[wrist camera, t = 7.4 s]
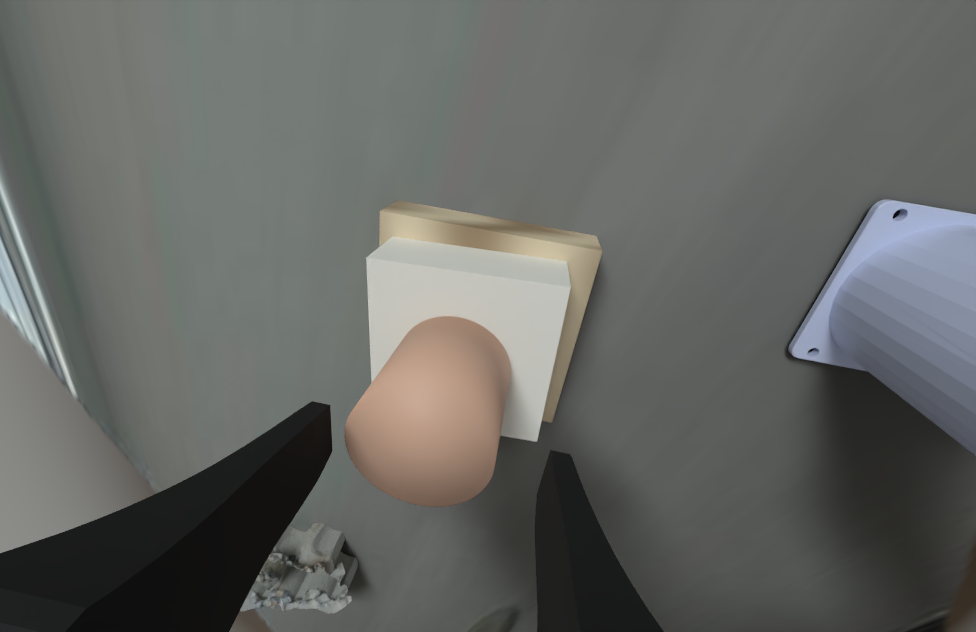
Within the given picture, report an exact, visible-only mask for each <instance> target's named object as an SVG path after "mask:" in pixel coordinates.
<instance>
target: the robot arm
mask: <svg viewBox="0 0 976 632" xmlns="http://www.w3.org/2000/svg"><path fill="white" fill-rule="evenodd" d="M899 209H900V214H899V215H898V216H897V217H896V218H894V219H893V215H894V213H895V212H896V211H897V210H899ZM812 348H814V350H813V351H812V352H809V353H808V351H809V350H810V349H812ZM788 349H789V352H790V353H791V354H792V355H793V356H794V357H796V358H799V359H804V360H810V361H815V362H820V363H825V364H831V365H836V366H841V367H846V368H852V369H857V370H862V371H868V372H869V373H870V374H872V375H873V376H874V377H876V378H877V379H878V380H879V381H881V382H882V383H883V384H884V385H886V386H887V387H888V388H890V389H891V390H892V391H893V392H895V393H896V394H897V395H899V396H900V397H901V398H902V399H904V400H905V401H906V402H907V403H909V404H910V405H911V406H913V407H914V408H915V409H916V410H918V411H919V412H920V413H922V414H923V415H924V416H925V417H927V418H928V419H929V420H930V421H932V422H933V423H934V424H936V425H937V426H938V427H939V428H941V429H942V430H943V431H944V432H946V433H947V434H948V435H950V436H951V437H952V438H953V439H955V440H956V441H957V442H959V443H960V444H961V445H962V446H964V447H965V448H966V449H967V450H969V451H970V452H971V453H973V454H974V455H975V456H976V214H971V213H965V212H959V211H953V210H947V209H941V208H936V207H930V206H924V205H918V204H912V203H906V202H900V201H895V200H882V201H879V202H877V203H876V204H874V205H873V206H872V208H871V209H870V210H869V212H868V214H867V215H866V217H865V219H864V220H863V222H862V224H861V225H860V227H859V229H858V230H857V232H856V234H855V236H854V237H853V239H852V241H851V242H850V244H849V246H848V247H847V249H846V251H845V252H844V254H843V256H842V257H841V259H840V261H839V262H838V264H837V266H836V268H835V269H834V271H833V273H832V274H831V276H830V278H829V279H828V281H827V283H826V284H825V286H824V288H823V289H822V291H821V293H820V294H819V296H818V298H817V300H816V301H815V303H814V305H813V306H812V308H811V310H810V311H809V313H808V315H807V316H806V318H805V320H804V321H803V323H802V325H801V327H800V328H799V330H798V332H797V333H796V335H795V337H794V338H793V340H792V342H791V343H790V345H789V348H788ZM331 452H332V435H331V414H330V405H327V404H322V403H317V402H313V401H312V402H310V403H309V404H307V405H306V406H304V407H303V408H301V409H300V410H298V411H297V412H295V413H294V414H292V415H291V416H289V417H288V418H286V419H285V420H284V421H282V422H281V423H279V424H278V425H276V426H275V427H273V428H272V429H270V430H269V431H267V432H266V433H264V434H262V435H261V436H259V437H258V438H256V439H255V440H253V441H252V442H250V443H249V444H247V445H245V446H244V447H242V448H241V449H239V450H237V451H236V452H234V453H232V454H231V455H229V456H227V457H226V458H224V459H222V460H221V461H219V462H217V463H216V464H214V465H212V466H210V467H209V468H207V469H205V470H203V471H201V472H199V473H198V474H196V475H194V476H192V477H190V478H188V479H186V480H184V481H182V482H180V483H178V484H176V485H174V486H172V487H170V488H168V489H166V490H164V491H161V492H159V493H157V494H155V495H153V496H150V497H149V498H146V499H144V500H142V501H139V502H137V503H135V504H133V505H131V506H128V507H126V508H124V509H121V510H119V511H116V512H114V513H112V514H109V515H107V516H104V517H102V518H99V519H97V520H94V521H91V522H89V523H87V524H84V525H81V526H78V527H76V528H74V529H70V530H68V531H65V532H62V533H59V534H57V535H54V536H51V537H48V538H45V539H42V540H39V541H36V542H33V543H30V544H27V545H24V546H21V547H18V548H15V549H13V550H9V551H6V552H3V553H0V632H229V631H230V629H231V627H232V625H233V623H234V621H235V619H236V617H237V615H238V613H239V611H240V609H241V607H242V605H243V603H244V601H245V599H246V597H247V595H248V594H249V592H250V590H251V588H252V586H253V584H254V582H255V581H256V579H257V577H258V575H259V573H260V571H261V569H262V567H263V566H264V564H265V562H266V560H267V559H268V557H269V555H270V554H271V552H272V550H273V549H274V547H275V545H276V544H277V542H278V541H279V539H280V538H281V536H282V535H283V533H284V532H285V530H286V529H287V527H288V526H289V524H290V523H291V521H292V519H293V518H294V516H295V515H296V513H297V512H298V510H299V509H300V507H301V506H302V504H303V503H304V501H305V500H306V498H307V496H308V495H309V493H310V492H311V490H312V489H313V487H314V486H315V484H316V482H317V481H318V479H319V477H320V475H321V473H322V471H323V469H324V467H325V465H326V463H327V461H328V459H329V457H330V455H331ZM535 549H536V576H537V603H538V626H537V632H663V630H662V629H661V627H660V626H659V624H658V623H657V622H656V620H655V619H654V617H653V616H652V615H651V613H650V612H649V610H648V609H647V607H646V606H645V604H644V603H643V601H642V599H641V598H640V596H639V595H638V593H637V592H636V590H635V588H634V587H633V585H632V584H631V582H630V580H629V579H628V577H627V575H626V574H625V572H624V570H623V568H622V567H621V565H620V563H619V561H618V560H617V558H616V556H615V554H614V552H613V550H612V549H611V547H610V545H609V543H608V541H607V539H606V537H605V535H604V533H603V531H602V529H601V527H600V525H599V523H598V521H597V518H596V516H595V514H594V512H593V510H592V507H591V505H590V503H589V501H588V498H587V496H586V494H585V491H584V489H583V486H582V484H581V481H580V479H579V476H578V473H577V471H576V468H575V465H574V462H573V459H572V457H571V456H570V454H566V453H561V452H556V451H551V450H550V453H549V457H548V460H547V463H546V467H545V470H544V473H543V476H542V480H541V483H540V486H539V489H538V493H537V502H536V516H535Z"/></svg>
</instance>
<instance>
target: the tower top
mask: <svg viewBox="0 0 976 632" xmlns="http://www.w3.org/2000/svg"><path fill="white" fill-rule="evenodd" d="M366 261H367V284H368V308H369V331H370V355H371V379H372V382H373V380H374V379H375V378H376V376H377V375H378V373H379V372H380V371H381V369H382V368H383V366H384V365H385V364H386V362H387V361H388V359H389V358H390V357H391V355H392V354H393V352H394V351H395V350H396V348H397V347H398V345H399V344H400V343H401V341H402V340H403V338H404V337H405V336H406V334H407V333H408V332H409V331H410V330H411V329H412V328H413V327H414V326H416V325H417V324H419V323H420V322H422V321H425V320H427V319H430V318H434V317H440V316H454V317H460V318H465V319H468V320H471V321H473V322H475V323H477V324H479V325H481V326H483V327H484V328H486V329H487V330H489V331H490V332H491V333H492V334H493V335H494V336H495V337H496V338H497V339H498V340H499V341H500V343H501V344H502V345H503V347H504V349H505V351H506V353H507V355H508V358H509V362H510V368H511V375H510V382H509V388H508V394H507V399H506V405H505V411H504V417H503V422H502V428H501V434H500V436H505V437H511V438H517V439H523V440H529V441H534V442H537V439H538V435H539V430H540V426H541V421H542V416H543V412H544V407H545V403H546V398H547V394H548V389H549V385H550V380H551V376H552V371H553V366H554V362H555V357H556V353H557V348H558V344H559V339H560V335H561V330H562V325H563V321H564V316H565V312H566V307H567V303H568V298H569V294H570V289H571V285H570V278H569V271H568V265H567V261H563V260H555V259H548V258H541V257H534V256H527V255H520V254H513V253H506V252H499V251H492V250H485V249H478V248H470V247H463V246H456V245H449V244H442V243H435V242H428V241H421V240H414V239H407V238H400V237H391V238H390V239H389V240H388V241H386V242H385V243H384V244H383V245H381V246H380V247H379V248H378V249H376V250H375V251H374V252H373V253H371V254H370V255H369V256H368V257H366Z"/></svg>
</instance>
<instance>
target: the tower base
mask: <svg viewBox="0 0 976 632" xmlns="http://www.w3.org/2000/svg"><path fill="white" fill-rule="evenodd" d="M391 237H400V238H407V239H414V240H421V241H428V242H435V243H442V244H449V245H456V246H463V247H470V248H478V249H485V250H492V251H499V252H506V253H513V254H520V255H527V256H534V257H541V258H548V259H555V260H563V261H567V265H568V271H569V278H570V285H571V289H570V294H569V298H568V303H567V307H566V312H565V316H564V321H563V325H562V330H561V335H560V339H559V344H558V348H557V353H556V357H555V362H554V366H553V371H552V376H551V380H550V385H549V389H548V394H547V398H546V403H545V407H544V412H543V416H542V421H545V422H550V423H552V421H553V418H554V414H555V411H556V407H557V404H558V401H559V397H560V394H561V390H562V387H563V384H564V380H565V377H566V373H567V370H568V367H569V363H570V360H571V357H572V353H573V350H574V346H575V343H576V340H577V336H578V333H579V329H580V326H581V323H582V319H583V316H584V312H585V309H586V306H587V302H588V299H589V295H590V292H591V289H592V285H593V282H594V279H595V275H596V272H597V268H598V265H599V262H600V258H601V255H602V249H601V246H600V244H599V242H598V239H597V237H596V236H594V235H588V234H583V233H577V232H571V231H566V230H560V229H555V228H549V227H543V226H538V225H532V224H527V223H521V222H516V221H510V220H504V219H499V218H493V217H488V216H482V215H476V214H471V213H465V212H460V211H454V210H449V209H443V208H437V207H432V206H426V205H421V204H415V203H409V202H404V201H396V202H394V203H393V204H391V205H389V206H388V207H386V208H384V209H382V210H381V211H380V239H379V247H380V246H381V245H383V244H384V243H385V242H386V241H388V240H389V239H390V238H391Z"/></svg>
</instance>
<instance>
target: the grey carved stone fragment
mask: <svg viewBox="0 0 976 632" xmlns="http://www.w3.org/2000/svg"><path fill="white" fill-rule="evenodd" d="M344 541H345V537H344V535H343V533H342V532H339V531H335V530H332V529H330V528H329V527H327V526H326V525H325V524H323V523H314V524H313V525H312V527H311V528H310V529H309V530H308V532H302V531H299V530H296V529H294V528H293V527H291V526H290V525H289V526H288V527H287V529H286V530H285V532H284V533H283V535H282V536H281V538H280V539H279V541H278V542H277V544H276V545H275V547H274V549H273V550H272V552H271V554H270V555H269V557H268V559H267V560H266V562H265V564H264V566H263V567H262V569H261V571H260V573H259V575H258V577H257V579H256V581H255V582H254V584H253V586H252V588H251V590H250V592H249V594H248V595H247V597H246V599H245V601H244V603H243V605H242V607H241V609H240V611H246V610H249V609H253V608H261V607H264V606H266V607H271V608H276V607H277V606H278V605H280V606H281V608H282V611H286V610H290V609H293V608H298V609H309V608H314V609H318V610H321V611H323V612H325V613H328V614H329V613H336V612H338V611H340V610H341V609H342V608H344V607H345V606H346V605H348V604H349V603H350V602H351V601H352V597H351V596H346V594H347V592H348V588H349V587H350V584H351V582H352V580H353V577H354V575H355V572H356V570H357V567H358V562H357V559H356V558H355V557H351V556H348V555H345V554H344V553H342V552H341V551H340V550H341V548H342V546H343V543H344ZM315 567H318V569H317V571H316V573H315V572H314V571H315Z"/></svg>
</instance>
